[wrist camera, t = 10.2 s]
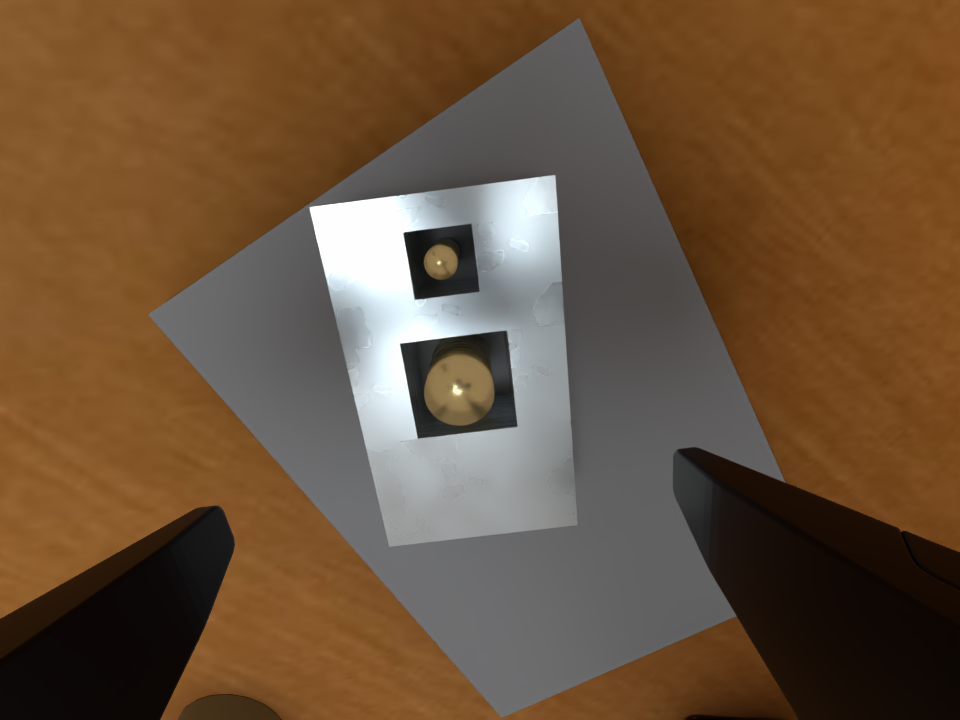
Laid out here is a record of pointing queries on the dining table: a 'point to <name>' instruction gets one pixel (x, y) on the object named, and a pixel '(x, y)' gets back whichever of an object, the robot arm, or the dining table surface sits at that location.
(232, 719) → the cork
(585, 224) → the mount board
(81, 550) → the dining table surface
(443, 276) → the pair of brass cylinders
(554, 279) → the silver rectangular block
